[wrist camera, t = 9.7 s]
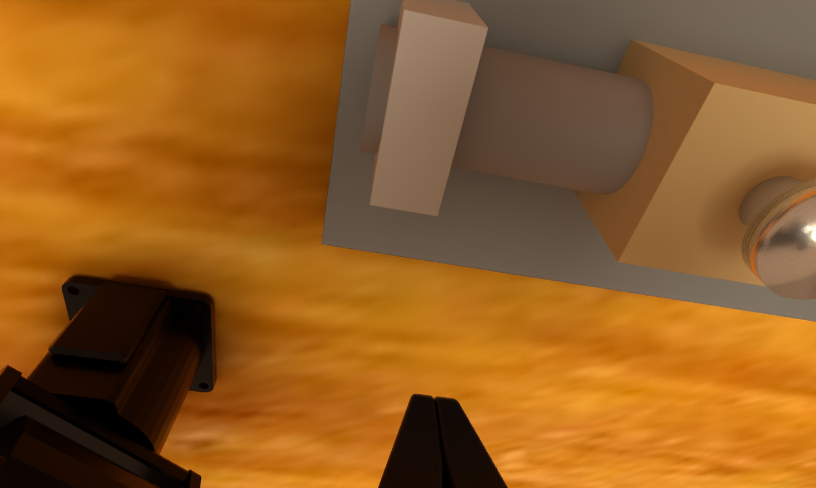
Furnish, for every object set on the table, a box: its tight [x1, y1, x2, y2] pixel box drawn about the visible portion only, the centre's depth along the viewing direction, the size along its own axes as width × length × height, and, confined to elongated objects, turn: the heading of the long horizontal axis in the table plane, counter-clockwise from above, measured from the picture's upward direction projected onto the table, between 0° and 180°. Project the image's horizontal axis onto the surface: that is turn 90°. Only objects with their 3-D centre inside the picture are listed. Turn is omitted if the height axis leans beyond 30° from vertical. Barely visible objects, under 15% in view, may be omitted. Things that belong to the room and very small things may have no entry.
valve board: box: [322, 0, 816, 322], centre depth 15 cm, size 14×24×8 cm, turn 79°
